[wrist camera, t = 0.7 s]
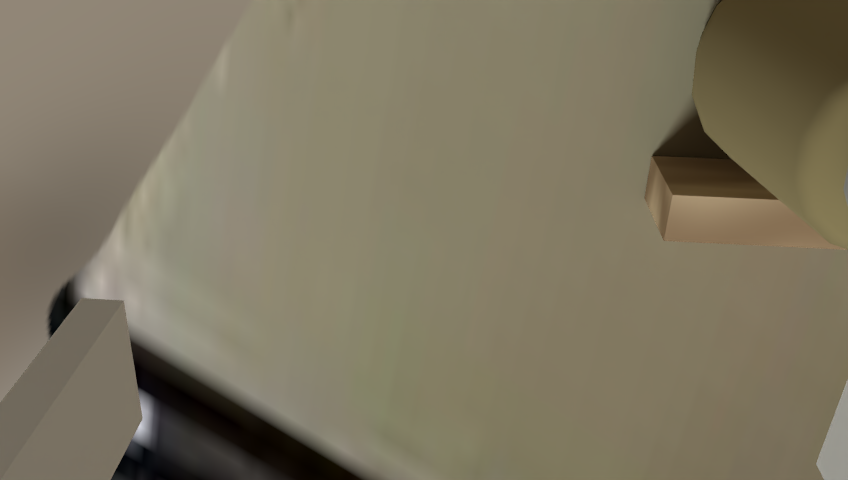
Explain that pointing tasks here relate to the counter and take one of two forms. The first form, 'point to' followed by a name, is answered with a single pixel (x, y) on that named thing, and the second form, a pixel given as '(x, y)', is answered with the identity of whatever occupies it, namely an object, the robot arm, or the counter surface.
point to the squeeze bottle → (781, 101)
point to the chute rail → (721, 206)
